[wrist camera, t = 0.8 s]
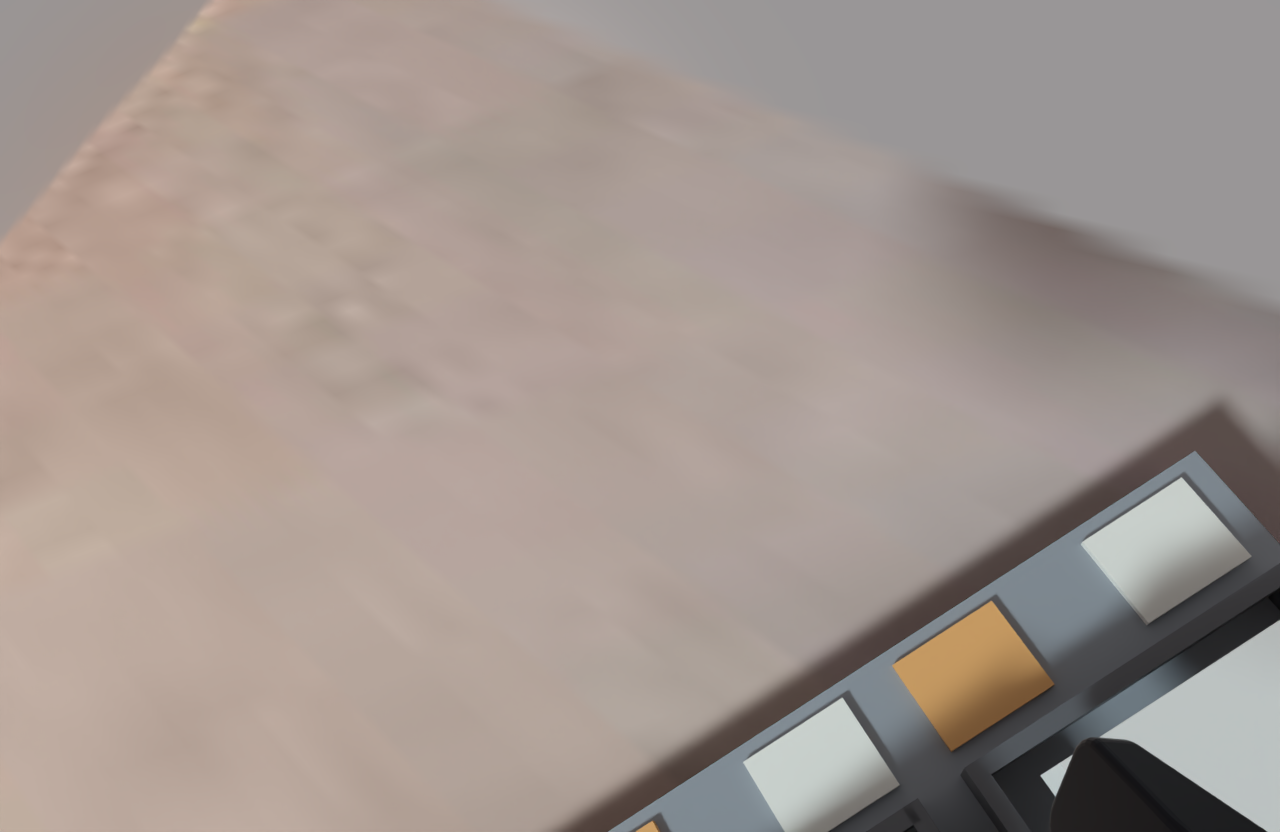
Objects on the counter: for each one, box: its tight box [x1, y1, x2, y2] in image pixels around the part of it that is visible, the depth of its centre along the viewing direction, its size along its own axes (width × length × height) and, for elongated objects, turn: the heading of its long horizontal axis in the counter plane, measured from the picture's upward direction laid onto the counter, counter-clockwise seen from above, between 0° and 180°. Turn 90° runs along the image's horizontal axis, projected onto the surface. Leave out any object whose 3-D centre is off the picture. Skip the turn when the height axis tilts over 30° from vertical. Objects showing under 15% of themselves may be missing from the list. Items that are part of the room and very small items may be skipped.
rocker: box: [1040, 620, 1280, 832], centre depth 16 cm, size 4×5×1 cm
